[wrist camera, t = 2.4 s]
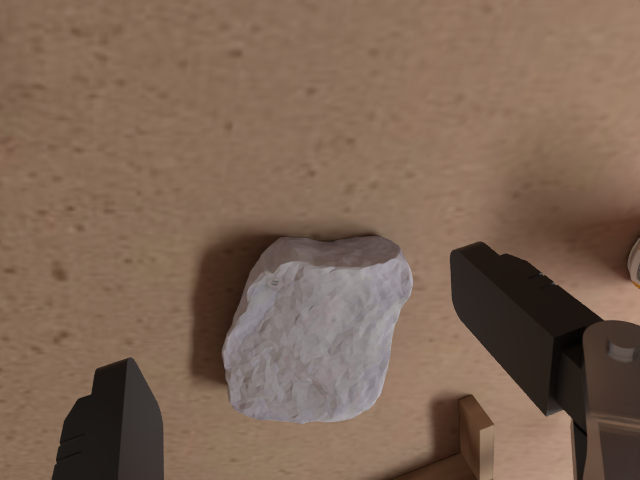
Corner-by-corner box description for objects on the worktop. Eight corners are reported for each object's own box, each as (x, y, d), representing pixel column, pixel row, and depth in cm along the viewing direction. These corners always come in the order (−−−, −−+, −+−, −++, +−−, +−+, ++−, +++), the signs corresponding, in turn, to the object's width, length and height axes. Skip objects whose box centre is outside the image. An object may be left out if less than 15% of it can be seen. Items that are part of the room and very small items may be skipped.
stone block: (220, 373, 32) (364, 383, 34) (212, 428, 28) (377, 437, 30) (238, 210, 28) (404, 231, 29) (231, 247, 23) (427, 269, 25)
